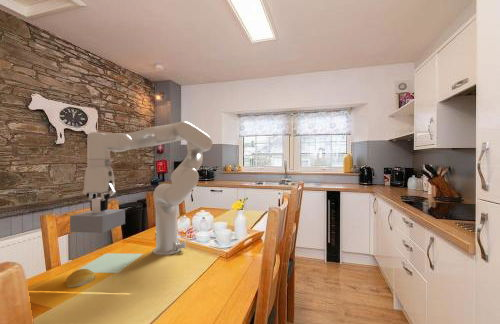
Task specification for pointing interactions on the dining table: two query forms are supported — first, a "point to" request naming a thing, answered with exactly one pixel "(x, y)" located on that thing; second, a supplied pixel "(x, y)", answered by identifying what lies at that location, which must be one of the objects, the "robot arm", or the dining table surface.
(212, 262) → the dining table surface
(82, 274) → the bread roll
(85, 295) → the dining table surface
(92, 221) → the cover
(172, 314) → the dining table surface
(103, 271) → the sage mat
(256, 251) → the dining table surface
